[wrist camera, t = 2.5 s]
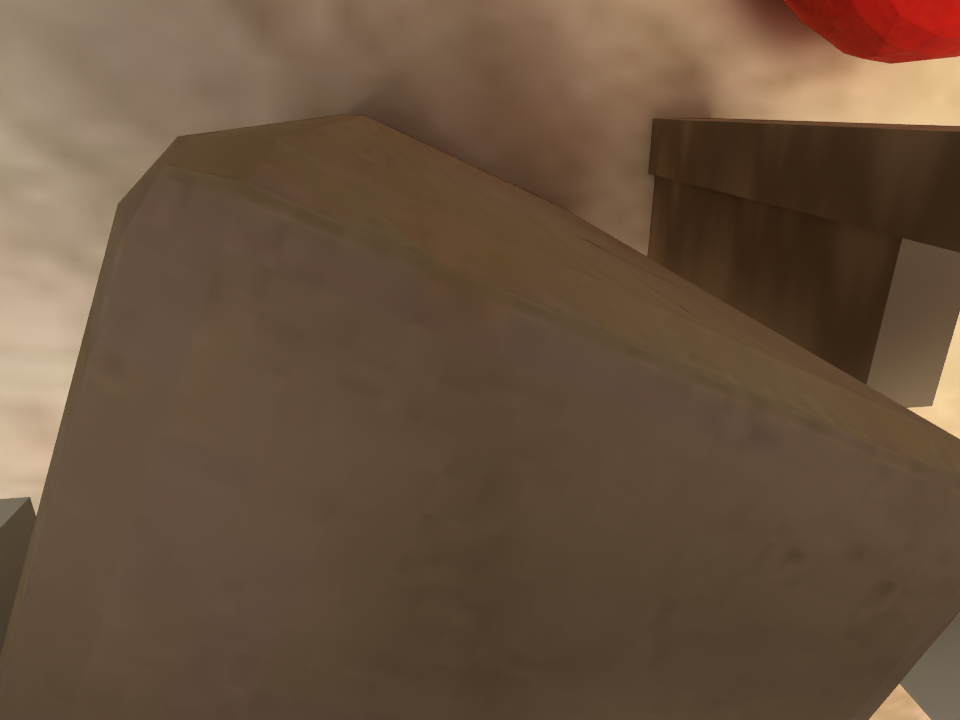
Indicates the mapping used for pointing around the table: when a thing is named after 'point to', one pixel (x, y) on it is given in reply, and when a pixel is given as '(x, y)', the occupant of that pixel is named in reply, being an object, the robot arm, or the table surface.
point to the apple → (885, 27)
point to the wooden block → (455, 468)
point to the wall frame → (820, 236)
